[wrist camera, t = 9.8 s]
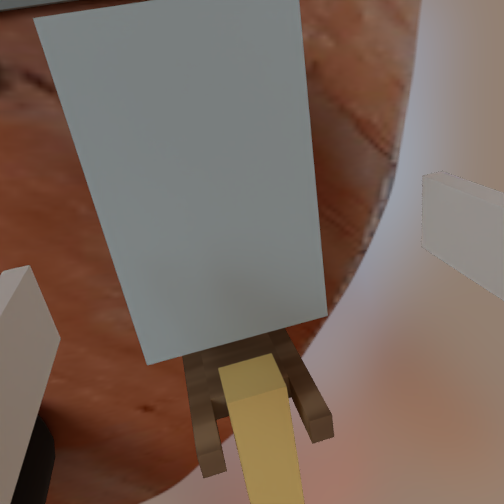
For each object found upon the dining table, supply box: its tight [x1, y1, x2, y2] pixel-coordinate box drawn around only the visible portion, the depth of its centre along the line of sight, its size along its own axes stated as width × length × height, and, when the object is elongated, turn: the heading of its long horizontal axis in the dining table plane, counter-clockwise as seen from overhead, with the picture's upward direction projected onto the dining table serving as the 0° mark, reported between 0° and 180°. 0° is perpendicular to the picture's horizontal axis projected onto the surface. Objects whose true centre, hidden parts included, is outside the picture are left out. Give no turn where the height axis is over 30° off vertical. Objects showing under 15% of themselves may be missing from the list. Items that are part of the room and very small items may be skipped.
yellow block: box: [218, 353, 305, 504], centre depth 25 cm, size 12×3×3 cm, turn 9°
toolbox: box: [182, 328, 334, 478], centre depth 23 cm, size 21×7×13 cm, turn 9°
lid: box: [33, 0, 328, 365], centre depth 21 cm, size 16×10×4 cm, turn 9°
